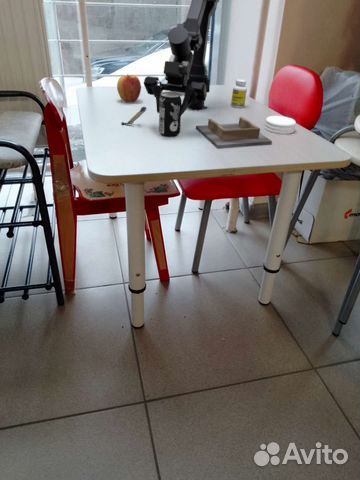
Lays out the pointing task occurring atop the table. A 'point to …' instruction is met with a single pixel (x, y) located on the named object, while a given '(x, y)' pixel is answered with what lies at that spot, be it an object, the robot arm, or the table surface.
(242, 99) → the supplement bottle
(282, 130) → the white ridged disc
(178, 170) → the table surface
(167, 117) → the beverage can
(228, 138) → the loading bay
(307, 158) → the table surface
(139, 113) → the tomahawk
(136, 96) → the apple
